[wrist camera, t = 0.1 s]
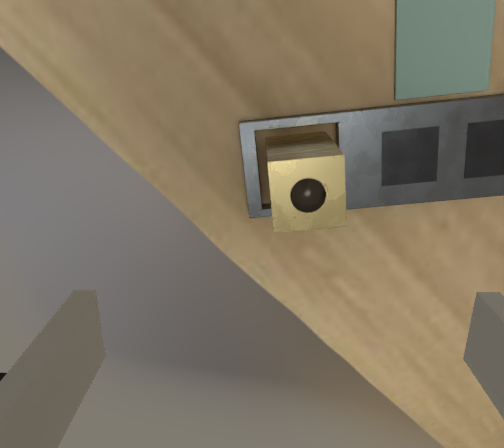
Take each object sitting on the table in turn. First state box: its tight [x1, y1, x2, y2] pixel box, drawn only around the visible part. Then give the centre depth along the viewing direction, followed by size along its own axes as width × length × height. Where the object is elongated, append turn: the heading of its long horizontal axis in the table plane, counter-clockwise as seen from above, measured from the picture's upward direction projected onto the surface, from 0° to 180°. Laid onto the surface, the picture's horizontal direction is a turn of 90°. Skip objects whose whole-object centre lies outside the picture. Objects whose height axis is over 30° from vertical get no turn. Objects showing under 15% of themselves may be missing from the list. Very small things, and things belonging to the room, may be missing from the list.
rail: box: [239, 94, 504, 218], centre depth 40 cm, size 9×26×2 cm, turn 96°
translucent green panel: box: [394, 0, 496, 100], centre depth 37 cm, size 8×8×1 cm
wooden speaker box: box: [266, 132, 347, 233], centre depth 37 cm, size 6×6×10 cm
